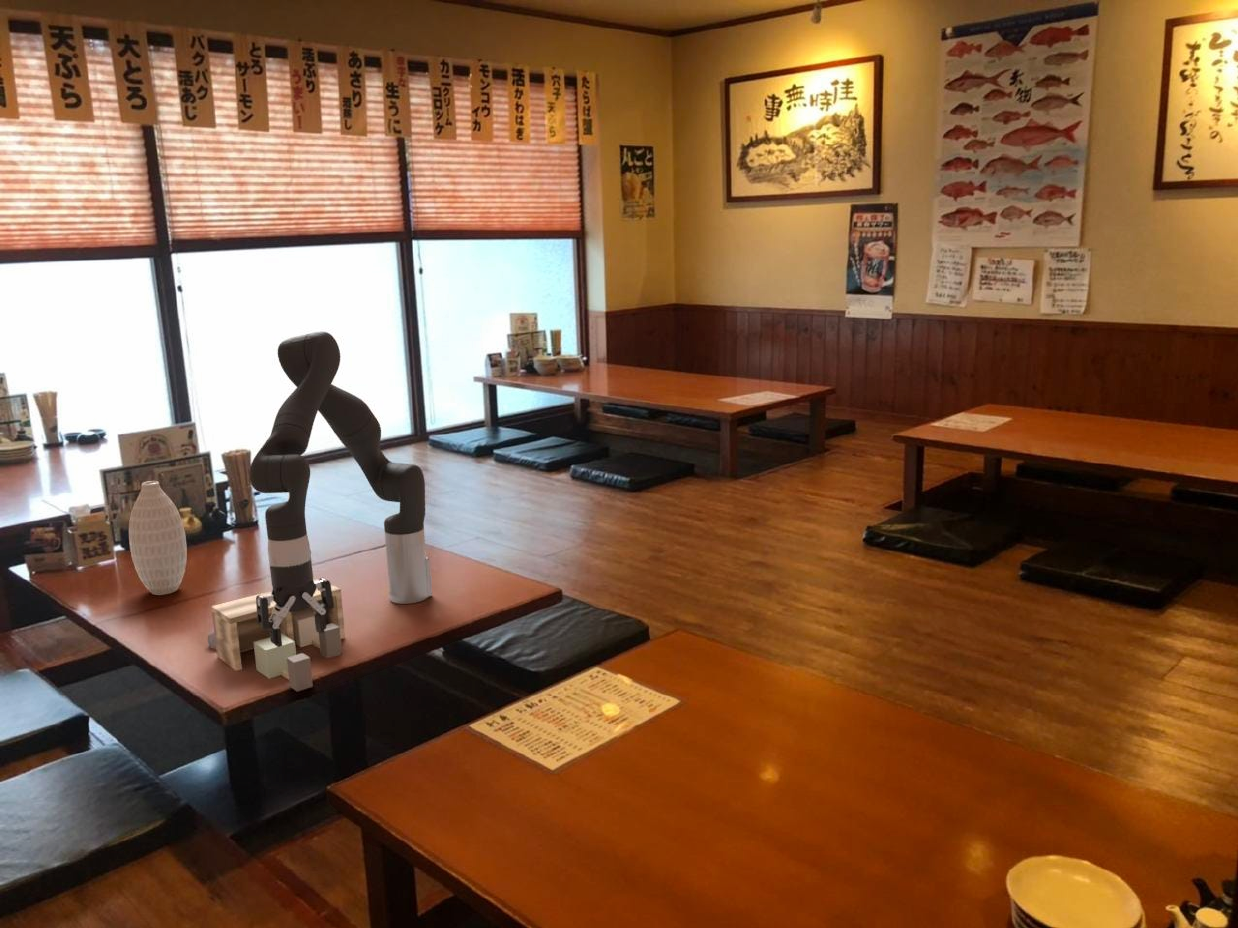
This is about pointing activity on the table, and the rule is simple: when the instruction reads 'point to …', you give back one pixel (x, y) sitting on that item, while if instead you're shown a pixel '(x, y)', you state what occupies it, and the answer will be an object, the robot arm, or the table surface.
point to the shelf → (242, 629)
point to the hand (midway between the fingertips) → (299, 638)
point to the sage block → (283, 662)
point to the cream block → (315, 633)
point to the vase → (157, 540)
